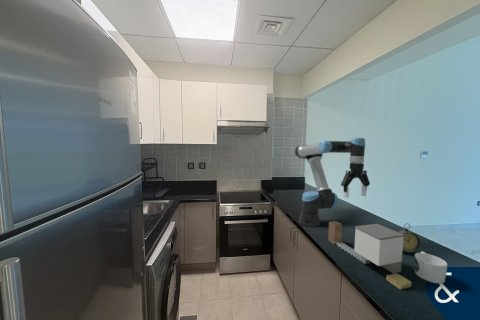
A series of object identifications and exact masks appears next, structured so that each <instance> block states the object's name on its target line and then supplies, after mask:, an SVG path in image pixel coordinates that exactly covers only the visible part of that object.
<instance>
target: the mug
mask: <svg viewBox="0 0 480 320" xmlns="http://www.w3.org/2000/svg"><path fill="white" fill-rule="evenodd" d="M447 269H448V263H447V262H446V261H445V260H444V259H443V258H441V257H438V256H436V255H432V254H429V253H426V252H425V251H420V252H416V253H414V272H415V273H414V274H416V276H418V277H419V278H421V279H423V280H425V281H426V282H430V283H434V284H438V283H442V284H445V282H446V276H447V272H448V271H447Z"/></svg>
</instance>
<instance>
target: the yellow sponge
mask: <svg viewBox="0 0 480 320" xmlns="http://www.w3.org/2000/svg"><path fill="white" fill-rule="evenodd" d="M385 279H386V281H387V282H389V283H390V284H392V285H394V286H395V287H396V288H397V289H399V290H404V289H409V288H411V287H412V284H413V283H412V281H410V280H409V279H407V278H406V277H404V276H402V275H400V274H399V273H398V272H397V273H391V274H386V277H385Z"/></svg>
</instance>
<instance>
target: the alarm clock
mask: <svg viewBox="0 0 480 320" xmlns="http://www.w3.org/2000/svg"><path fill="white" fill-rule="evenodd" d="M406 225H408V226H409V227H408V228H407V227H406V228H405V226H406ZM403 228H404V229H402V230H399V231H398V232H399V233H401V234H404V238H403V251H402V252H405V253H414V254H416V253H417V252H416V251H417V250H419V248H420V245H421V240H420V238H419V236H418V235H417V234H415V233H414V232H412V231H410V230H409V229H410V228H411V225H410V223H408V222H407V223H405V224H403Z"/></svg>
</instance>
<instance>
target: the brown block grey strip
mask: <svg viewBox="0 0 480 320" xmlns="http://www.w3.org/2000/svg"><path fill="white" fill-rule="evenodd" d="M342 230H343V223H340V222H338V221H336V220H333V221H329V222H328V237H327V239H328V242H329V241H330V243H331V244H332V243H333V244H332V245H334V244H336V246H337V245H338V246H337V247H339V248H340V247H341V248H340V249H342V250H343V249H344V250H343V251H345V252H346V251H347V252H346V253H348V254H349V253H350V254H349V255H350V256H352V255H353V258H355V257H356V259H357V260H358V259H359V260H358V261H360V262H361V261H362V263H363V264H364V265H367V264H371V261H370V260H368V259H366V258H365V257H363V256H362V255H360V254H358V253H357V252H355V251H354V248H353V247H350V246H348V244H346V243H344V242H342V233H343V231H342Z"/></svg>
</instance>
